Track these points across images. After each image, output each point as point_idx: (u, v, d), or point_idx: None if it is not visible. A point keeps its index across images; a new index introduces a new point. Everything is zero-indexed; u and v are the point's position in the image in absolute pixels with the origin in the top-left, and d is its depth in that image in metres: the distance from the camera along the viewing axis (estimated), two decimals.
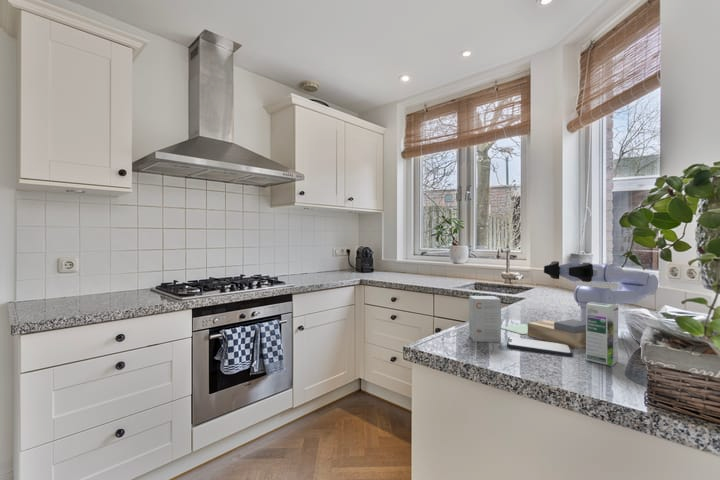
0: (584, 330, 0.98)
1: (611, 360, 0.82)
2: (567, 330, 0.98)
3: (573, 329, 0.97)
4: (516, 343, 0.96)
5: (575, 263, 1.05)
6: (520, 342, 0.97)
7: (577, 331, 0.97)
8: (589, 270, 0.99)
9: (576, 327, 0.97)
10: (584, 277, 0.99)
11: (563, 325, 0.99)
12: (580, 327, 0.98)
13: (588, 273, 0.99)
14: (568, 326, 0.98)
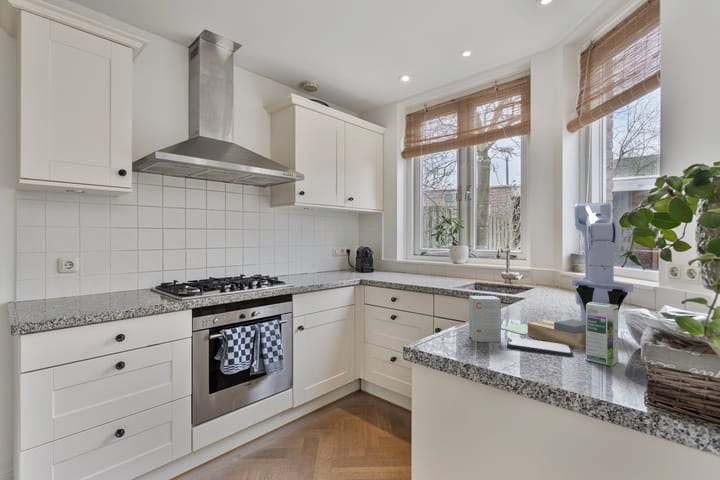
0: (584, 330, 0.98)
1: (611, 360, 0.82)
2: (567, 330, 0.98)
3: (573, 329, 0.97)
4: (516, 343, 0.96)
5: (597, 285, 0.93)
6: (520, 342, 0.97)
7: (577, 331, 0.97)
8: None
9: (576, 327, 0.97)
10: (622, 300, 0.91)
11: (563, 325, 0.99)
12: (580, 327, 0.98)
13: None
14: (568, 326, 0.98)
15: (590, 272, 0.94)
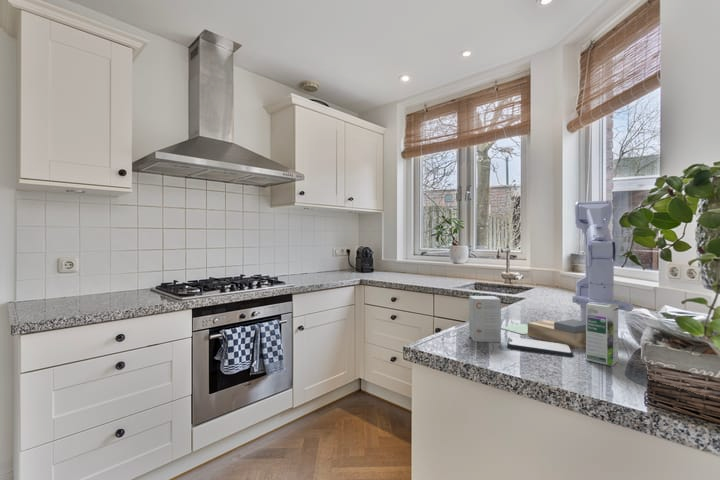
0: (584, 330, 0.98)
1: (611, 360, 0.82)
2: (567, 330, 0.98)
3: (573, 329, 0.97)
4: (517, 343, 0.96)
5: None
6: (520, 342, 0.97)
7: (577, 331, 0.97)
8: None
9: (576, 327, 0.97)
10: None
11: (563, 325, 0.99)
12: (580, 327, 0.98)
13: None
14: (568, 326, 0.98)
15: (590, 290, 0.94)
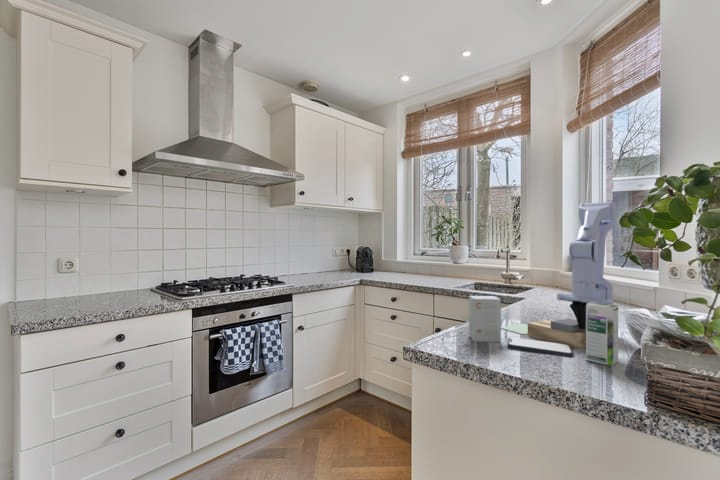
0: (580, 329, 0.99)
1: (611, 360, 0.82)
2: (563, 329, 0.99)
3: (569, 328, 0.97)
4: (517, 343, 0.96)
5: None
6: (521, 342, 0.97)
7: (573, 330, 0.98)
8: None
9: (572, 326, 0.98)
10: None
11: (559, 324, 1.00)
12: (576, 326, 0.99)
13: None
14: (564, 325, 0.99)
15: (573, 288, 0.99)
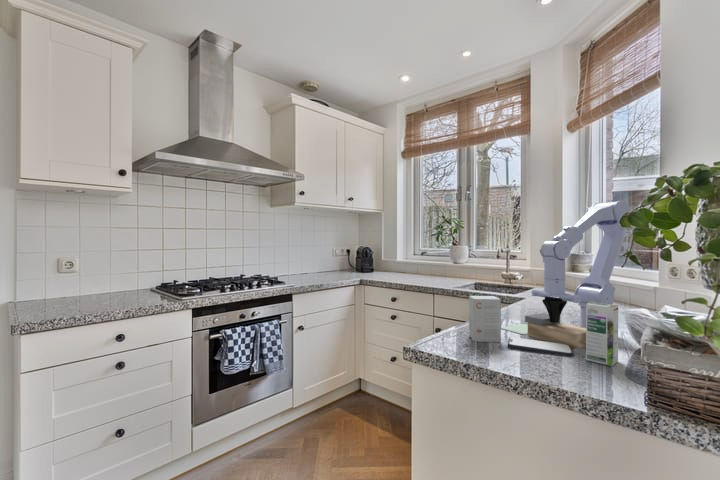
0: (552, 323, 1.07)
1: (611, 360, 0.82)
2: (536, 323, 1.07)
3: (541, 322, 1.05)
4: (517, 343, 0.96)
5: None
6: (521, 342, 0.97)
7: (545, 323, 1.06)
8: None
9: (544, 320, 1.05)
10: (563, 307, 1.05)
11: (533, 318, 1.08)
12: (548, 320, 1.06)
13: None
14: (537, 319, 1.06)
15: (545, 284, 1.06)
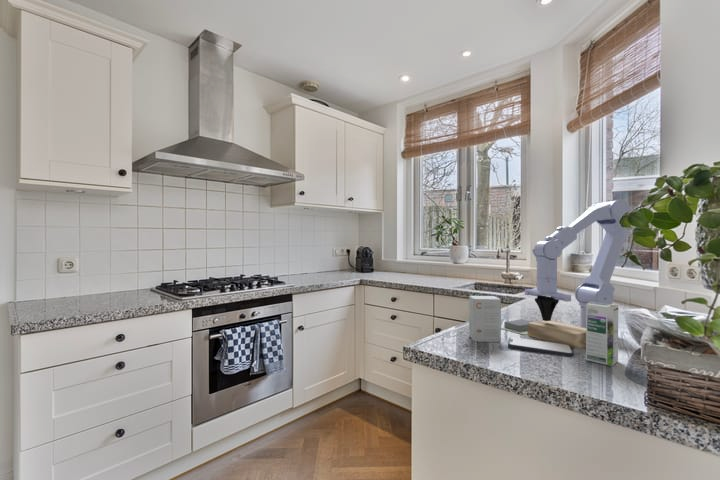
0: None
1: (611, 360, 0.82)
2: (509, 324, 1.16)
3: (505, 325, 1.17)
4: (517, 343, 0.96)
5: None
6: (521, 342, 0.97)
7: None
8: None
9: None
10: (555, 306, 1.08)
11: (512, 328, 1.15)
12: None
13: None
14: (508, 327, 1.16)
15: (537, 283, 1.09)
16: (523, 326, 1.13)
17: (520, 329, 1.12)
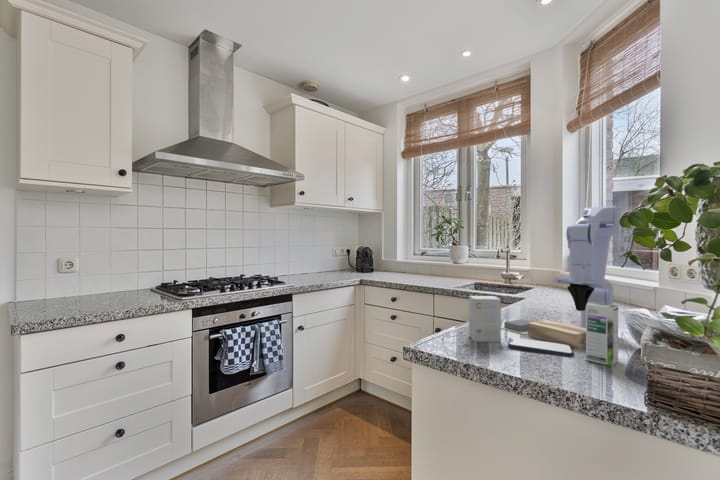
0: None
1: (611, 360, 0.82)
2: (509, 324, 1.16)
3: (505, 325, 1.17)
4: (517, 343, 0.96)
5: (577, 282, 0.99)
6: (521, 342, 0.97)
7: None
8: (586, 289, 0.98)
9: None
10: (589, 294, 0.99)
11: (512, 328, 1.15)
12: None
13: None
14: (508, 327, 1.16)
15: (570, 270, 1.00)
16: (523, 326, 1.13)
17: (520, 329, 1.12)
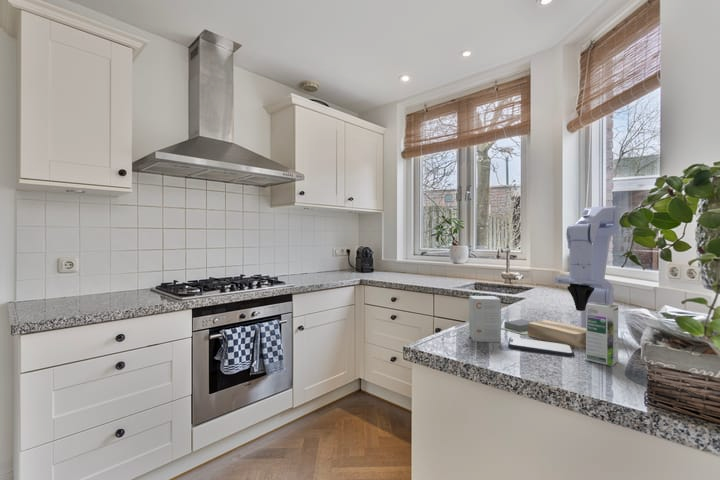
0: None
1: (611, 360, 0.82)
2: (509, 324, 1.16)
3: (505, 325, 1.17)
4: (518, 343, 0.96)
5: (577, 282, 0.99)
6: (521, 342, 0.97)
7: None
8: (586, 289, 0.98)
9: None
10: (589, 294, 0.99)
11: (512, 328, 1.15)
12: None
13: None
14: (508, 327, 1.16)
15: (570, 270, 1.00)
16: (523, 326, 1.13)
17: (520, 329, 1.12)
